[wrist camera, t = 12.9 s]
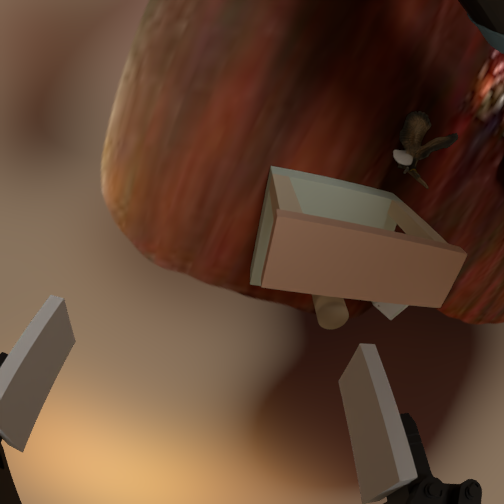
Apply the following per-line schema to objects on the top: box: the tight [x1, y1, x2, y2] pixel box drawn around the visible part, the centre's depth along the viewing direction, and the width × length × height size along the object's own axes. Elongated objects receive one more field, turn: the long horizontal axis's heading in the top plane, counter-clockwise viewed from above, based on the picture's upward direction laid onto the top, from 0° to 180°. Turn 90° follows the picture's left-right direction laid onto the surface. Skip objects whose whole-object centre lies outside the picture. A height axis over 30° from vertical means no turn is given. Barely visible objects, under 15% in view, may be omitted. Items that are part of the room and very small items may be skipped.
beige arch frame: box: [261, 174, 467, 308], centre depth 31 cm, size 6×19×14 cm, turn 80°
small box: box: [372, 301, 409, 320], centre depth 46 cm, size 6×6×5 cm
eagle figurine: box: [393, 111, 458, 189], centre depth 34 cm, size 8×7×9 cm
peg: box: [312, 294, 349, 329], centre depth 39 cm, size 4×4×14 cm
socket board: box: [250, 166, 404, 286], centre depth 42 cm, size 16×18×4 cm
